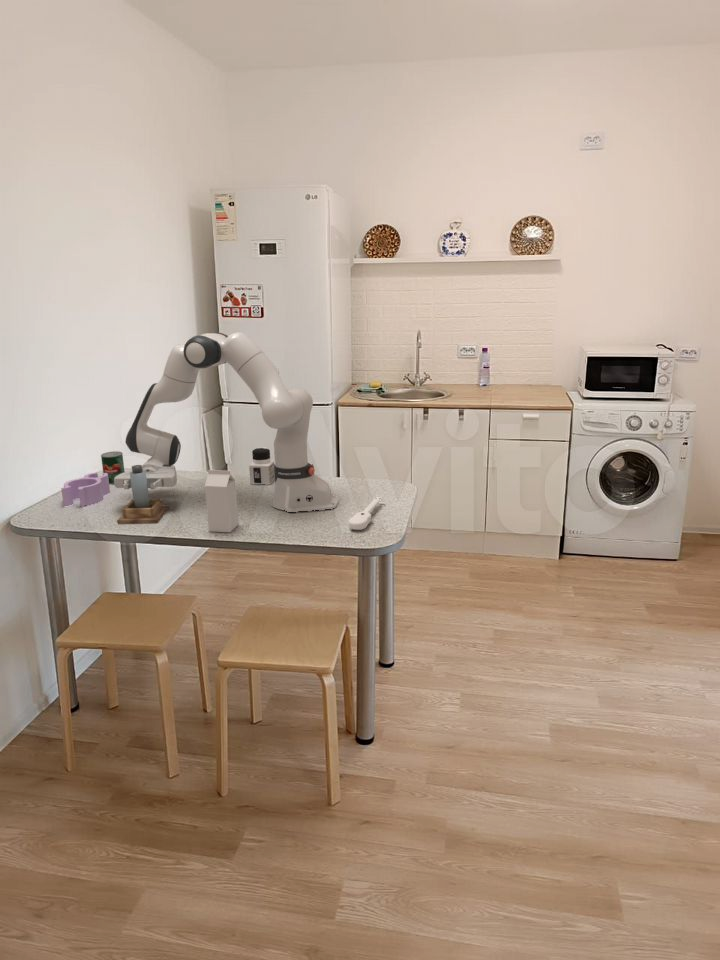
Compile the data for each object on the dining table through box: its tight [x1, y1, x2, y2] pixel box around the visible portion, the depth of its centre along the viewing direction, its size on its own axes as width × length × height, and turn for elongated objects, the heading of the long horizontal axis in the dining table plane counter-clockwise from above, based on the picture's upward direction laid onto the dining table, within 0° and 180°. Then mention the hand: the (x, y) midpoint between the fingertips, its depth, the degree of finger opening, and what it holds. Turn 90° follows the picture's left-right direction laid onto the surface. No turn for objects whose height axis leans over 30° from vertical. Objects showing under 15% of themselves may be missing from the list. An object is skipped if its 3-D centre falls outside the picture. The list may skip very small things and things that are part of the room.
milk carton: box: [204, 469, 239, 533], centre depth 221 cm, size 7×7×19 cm
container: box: [248, 447, 275, 486], centre depth 269 cm, size 8×8×13 cm
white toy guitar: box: [348, 496, 384, 531], centre depth 231 cm, size 28×6×3 cm, turn 163°
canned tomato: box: [100, 450, 126, 485], centre depth 275 cm, size 8×8×11 cm
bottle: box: [129, 464, 151, 508], centre depth 234 cm, size 5×5×16 cm
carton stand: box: [116, 498, 170, 525], centre depth 236 cm, size 13×14×4 cm
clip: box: [60, 472, 111, 508], centre depth 256 cm, size 20×12×7 cm, turn 170°
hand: (139, 486), depth 233 cm, fingers open, 7 cm apart
